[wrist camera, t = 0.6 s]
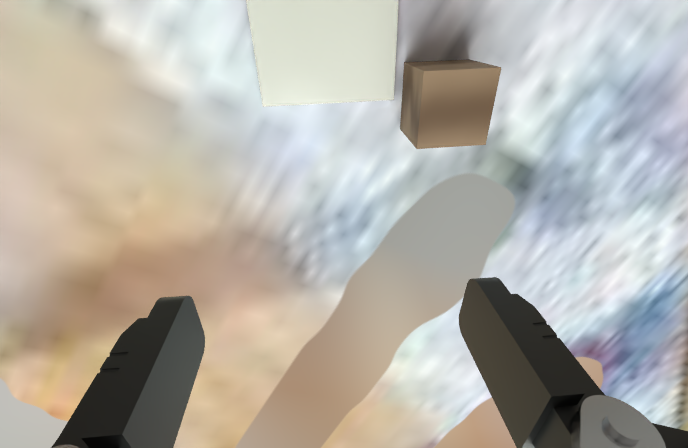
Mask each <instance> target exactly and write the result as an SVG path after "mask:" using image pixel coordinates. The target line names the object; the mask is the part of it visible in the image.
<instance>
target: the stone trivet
mask: <svg viewBox="0 0 688 448" xmlns="http://www.w3.org/2000/svg"><path fill="white" fill-rule="evenodd" d="M246 3H247V9H248V16H249V22H250V28H251V35H252V41H253V47H254V54H255V60H256V66H257V73H258V79H259V85H260V92H261V98H262V104H263V107H267V106H286V105H305V104H325V103H344V102H363V101H382V100H394V83H395V63H396V42H397V21H398V0H246Z"/></svg>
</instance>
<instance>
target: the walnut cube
mask: <svg viewBox="0 0 688 448" xmlns="http://www.w3.org/2000/svg"><path fill="white" fill-rule="evenodd" d="M500 72H501V67H497V66H493V65H489V64H485V63H481V62H477V61H473V60H448V61H426V62H404V75H403V91H402V108H401V124H400V129H401V131H402V132H403V133H404V134H405V135H406V137H407V138H408V139H409V140H410V141H411V143H412V144H413V145H414V146H415V147H416V149H423V148H439V147H456V146H472V145H486V140H487V135H488V130H489V125H490V120H491V115H492V111H493V106H494V101H495V96H496V91H497V86H498V81H499V76H500Z"/></svg>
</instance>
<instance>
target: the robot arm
mask: <svg viewBox="0 0 688 448" xmlns="http://www.w3.org/2000/svg"><path fill="white" fill-rule="evenodd" d="M459 326H460V331H461V334H462V336H463V338H464V340H465V342H466V344H467V347H468V349H469V351H470V353H471V355H472V357H473V359H474V361H475V363H476V365H477V367H478V369H479V371H480V373H481V375H482V377H483V379H484V381H485V383H486V385H487V387H488V390H489V392H490V394H491V396H492V398H493V399H494V401H495V404H496V406H497V408H498V410H499V412H500V414H501V416H502V418H503V420H504V422H505V424H506V426H507V428H508V430H509V432H510V435H511V437H512V439H513V440H514V443H515V445H516V447H517V448H688V431H684V430H680V429H675V428H671V427H666V426H662V425H658V424H654V423H651V422H650V421H649V420H648V419H647V418H646V417H645V416H644V415H643V414H641V413H640V412H639V411H637V410H636V409H635V408H633V407H632V406H630V405H628V404H627V403H625V402H623V401H621V400H618V399H616V398H613V397H609V396H606V395H605V394H604V393H603V392H602V391H601V390H600V389H599V387H598V386H597V385H596V384H595V383H594V381H593V380H592V379H591V377H590V376H589V375H588V374H587V372H586V371H585V370H584V369H583V367H582V366H581V365H580V364H579V362H578V361H577V360H576V358H575V357H574V356H573V355H572V353H571V352H570V351H569V350H568V348H567V347H566V346H565V345H564V343H563V342H562V341H561V340H560V338H557V335H556V333H555V332H554V331H553V329H552V328H551V327H550V326H549V325H547V324H546V321H545V319H544V318H543V317H542V316H541V314H540V313H539V312H538V311H537V309H536V308H535V307H534V306H533V305H532V304H530V303H529V302H527V301H526V300H525V299H523V298H522V297H521V296H519V295H518V294H510V292H509V291H508V289H507V288H506V287H505V285H504V284H503V283H502V281H501V280H500V279H498V278H496V277H493V278H477V279H470V280H469V281H468V283H467V287H466V290H465V294H464V298H463V302H462V306H461V310H460V314H459ZM204 347H205V336H204V331H203V328H202V325H201V322H200V319H199V316H198V313H197V310H196V307H195V304H194V301H193V299H192V297H190V296H178V297H163V298H160V299H158V300H157V302H156V303H155V305H154V307H153V309H152V310H151V312H150V314H149V316H148V318H139V319H138V320H136V321H135V322H134V323H133V324H132V325H131V326H130V327H129V328H128V329H127V330H126V331H124V332H123V333H122V334H121V336H120V337H119V339H118V340H117V342H116V344H115V345H114V347H113V349H112V350H111V352H110V356H109V357H107V359H106V360H105V362H104V364H103V365H102V367H101V368H100V373H97V375H96V377H95V378H94V380H93V382H92V383H91V385H90V387H89V388H88V390H87V392H86V393H85V395H84V396H83V398H82V400H81V401H80V403H79V405H78V406H77V408H76V410H75V411H74V413H73V415H72V416H71V418H70V420H69V421H68V423H67V425H66V426H65V428H64V429H63V431H62V433H61V434H60V436H59V438H58V439H57V440H56V442H55V444H54V445H53V446H52V448H173V446H174V443H175V440H176V437H177V434H178V431H179V428H180V425H181V422H182V418H183V415H184V412H185V409H186V406H187V403H188V400H189V397H190V394H191V391H192V387H193V384H194V381H195V378H196V375H197V372H198V369H199V366H200V363H201V360H202V356H203V353H204Z"/></svg>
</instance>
